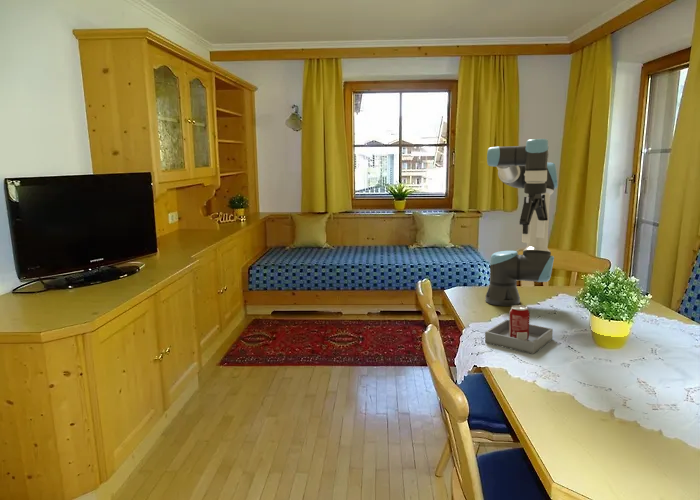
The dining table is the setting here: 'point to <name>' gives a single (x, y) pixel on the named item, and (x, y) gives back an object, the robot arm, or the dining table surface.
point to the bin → (533, 344)
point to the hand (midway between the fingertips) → (533, 240)
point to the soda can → (519, 322)
